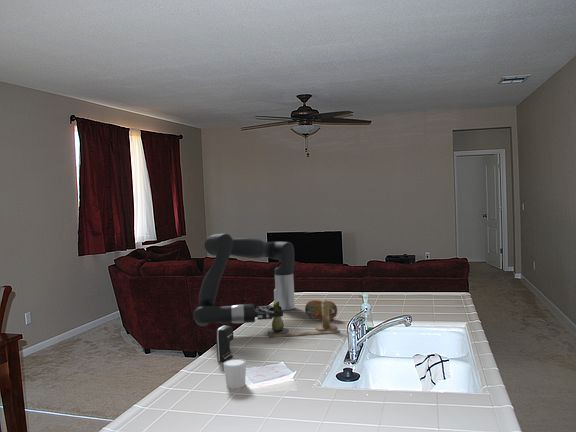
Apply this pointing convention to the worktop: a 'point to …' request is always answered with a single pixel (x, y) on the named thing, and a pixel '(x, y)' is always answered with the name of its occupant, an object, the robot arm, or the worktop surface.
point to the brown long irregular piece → (321, 329)
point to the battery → (224, 342)
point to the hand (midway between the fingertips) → (282, 311)
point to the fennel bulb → (277, 319)
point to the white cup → (235, 373)
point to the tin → (319, 310)
